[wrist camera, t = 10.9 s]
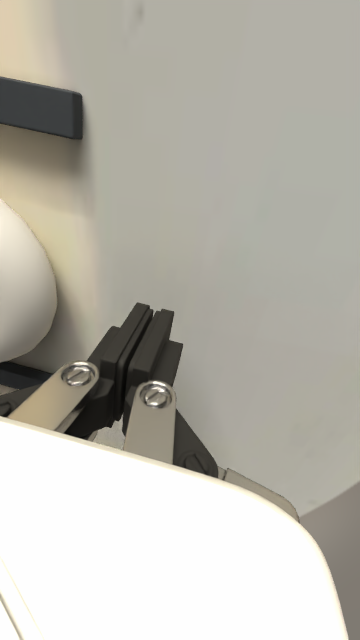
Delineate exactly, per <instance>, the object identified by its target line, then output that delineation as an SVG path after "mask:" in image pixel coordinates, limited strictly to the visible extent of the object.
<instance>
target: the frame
mask: <svg viewBox="0 0 360 640" xmlns="http://www.w3.org/2000/svg"><path fill="white" fill-rule="evenodd" d="M0 124H5V125H9V126H14V127H19V128H23V129H28V130H33V131H37V132H42V133H47V134H51V135H56V136H61V137H65V138H70V139H82V95H81V94H80V93H77V92H74V91H70V90H65V89H60V88H55V87H50V86H45V85H40V84H35V83H30V82H25V81H20V80H15V79H10V78H5V77H0ZM51 376H52V374H49V373H45V372H42V371H38V370H35V369H31V368H27V367H24V366H20V365H17V364H13V363H10V362H6V361H4V362H0V384H1V385H5V386H8V387H12V388H15V389H19V390H21V389H25V388H28V387H32V386H35V385H38V384H42V383H45V382H46V381H47V380H48V379H49V378H50V377H51Z"/></svg>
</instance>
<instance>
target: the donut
mask: <svg viewBox="0 0 360 640" xmlns="http://www.w3.org/2000/svg"><path fill="white" fill-rule="evenodd" d="M56 309H57V292H56V280H55V275H54V273H53V270H52V267H51V265H50V262H49V260H48V257H47V255H46V252H45V249H44V248H43V246H42V245H41V243H40V242H39V240H38V239H37V238H36V236H35V235H34V233H33V232H32V230H31V229H30V227H29V226H28V225H27V223H26V222H25V220H24V219H23V218H21V217H20V216H19V215H18V214H17V213H16V212H15V211H14V210H13V209H12V208H11V207H9V206H8V205H7V204H6V203H5V202H4V201H3V200H2V199H1V198H0V362H4V361H8V360H11V359H13V358H16V357H19V356H21V355H24V354H26V353H28V352H29V351H31V350H33V349H34V348H35V347H36V346H37V344H38V343H39V342H40V341H41V340H42V339H43V338H44V337H45V336H46V335H47V333H48V332H49V330H50V329H51V326H52V322H53V319H54V315H55V312H56Z"/></svg>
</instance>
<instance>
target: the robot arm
mask: <svg viewBox="0 0 360 640" xmlns="http://www.w3.org/2000/svg"><path fill="white" fill-rule="evenodd" d="M173 317H174V311H170V310H166V309H162V310H161V312H160V311H156V313H155V315H154V317H153V310H152V309H150V306H149V305H145V304H141V303H136V305H135V306H134V308H133V309H132V311H131V312H130V314H129V315H128V317H127V319H126V320H125V322H124V323H123V325H122V326H121V328H119V327H115V326H112V327H111V328H110V329H109V330H108V332H107V333H106V335H105V336H104V337H103V339H102V340H101V342H100V343H99V344H98V346H97V347H96V349H95V350H94V351H93V353H92V354H91V356H90V357H89V358H88V360H87V361H73V362H70V363H67V364H65V365H64V366H62V367H61V368H60V369H59V370H58V371H57V372H55V373H54V374H53V375H52V376H51V377H50V378H49V379H48V380H47V381H46V382H45V383H42V384H38V385H35V386H32V387H28V388H25V389H21V390H18V391H14V392H11V393H8V394H4V395H1V396H0V640H349V639H348V635H347V630H346V627H345V622H344V618H343V614H342V610H341V606H340V602H339V599H338V595H337V591H336V588H335V585H334V582H333V579H332V576H331V573H330V570H329V568H328V565H327V562H326V560H325V558H324V555H323V553H322V551H321V550H320V548H319V546H318V544H317V543H316V542H315V540H314V539H313V538H312V537H311V535H310V534H309V533H308V532H307V531H306V530H305V529H304V528H303V527H302V526H301V525H300V522H299V516H298V514H297V512H296V510H295V508H294V507H293V506H292V504H291V503H290V502H289V501H288V500H287V499H285V498H284V497H282V496H281V495H279V494H277V493H275V492H273V491H271V490H269V489H267V488H266V487H264V486H262V485H260V484H258V483H256V482H254V481H252V480H250V479H248V478H246V477H245V476H243V475H241V474H239V473H237V472H235V471H233V470H231V469H229V468H227V470H224V469H222V468H221V467H219V466H217V464H216V462H215V460H214V458H213V457H212V456H211V454H210V453H209V452H208V450H207V449H206V448H205V446H204V445H203V444H202V442H201V441H200V440H199V438H198V437H197V436H196V434H195V433H194V432H193V430H192V429H191V428H190V426H189V425H188V424H187V422H186V421H185V420H184V418H183V417H182V416H181V414H180V413H179V412H178V410H177V409H176V393H175V391H174V389H173V388H172V387H173V383H174V380H175V376H176V373H177V369H178V365H179V361H180V357H181V352H182V348H183V344H182V343H178V342H174V341H170V340H169V337H170V332H171V327H172V322H173ZM152 318H153V319H152ZM122 414H123V427H122V432H123V434H124V436H125V441H124V446H123V450H119V449H116V448H112V447H109V446H105V445H101V444H98V443H94V442H93V440H94V439H95V437H96V435H97V433H98V430H99V429H102V428H104V427H109V428H111V427H112V425H113V423H114V421H115V420H116V421H119V420H120V419H121V416H122Z"/></svg>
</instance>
